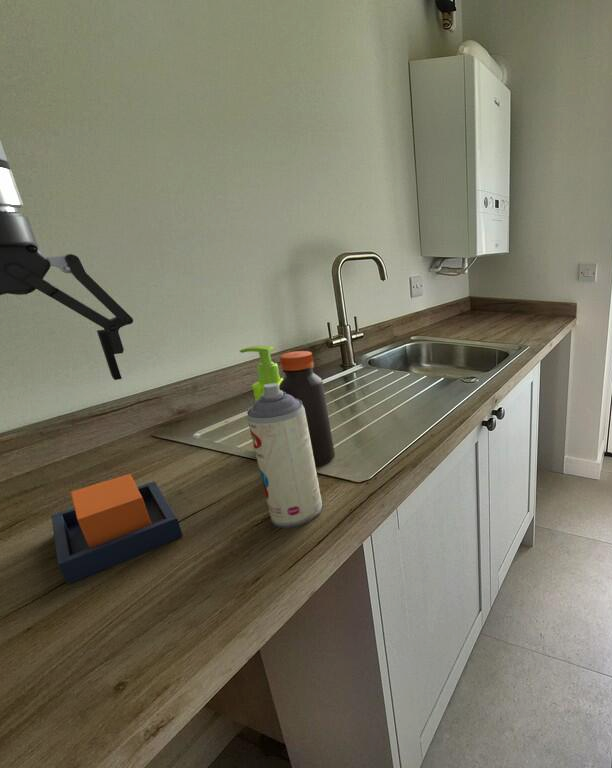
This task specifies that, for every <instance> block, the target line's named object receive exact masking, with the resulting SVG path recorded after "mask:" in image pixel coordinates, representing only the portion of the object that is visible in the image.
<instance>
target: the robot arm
mask: <svg viewBox="0 0 612 768" xmlns="http://www.w3.org/2000/svg"><path fill="white" fill-rule="evenodd" d="M24 206H25V205H24V203H23V199H22V197H21V194H20V191H19V189H18V186H17V182H16V179H15V177H14V174H13V171H12V169H11V167H10V164H9V161H8V158H7V156H6V153H5V150H4V146H3V143H2V141H1V140H0V296H3V295H6V294H7V295H8V294H9V295H15V296H23V295H28V294H31V293H34V291H36V290H38V292H41V293H43V294H45V295H46V296H47V297H50V298H52V299H53V300H55V301H56V302H59V303H60V304H62V305H63V306H65V307H67V308H69V309H70V310H72V311H74V312H75V313H77V314H78V315H81V316H82V317H84V318H85V319H87V320H89V321H91V322H92V323H94V324H96V325H98V326H99V327H101V328H102V329H98V330H96V333H97V337H98V339H99V342H100V345H101V348H102V350H103V354H104V358H105V360H106V363H107V366H108V370H109V373H110V375H111V377H112V379H113V380H114V381H118V380H122V379H123V378H122V374H121V371H120V369H119V365H118V362H117V360H116V356H115V355H118V354H119V355H120V354H123V353H124V351H125V349H124V345H123V342H122V339H121V335H120V333H119V332H120V329H121V328H123V327H125V326H129V325H132V324H133V323H134V318H133V317H132V316H131V315H130V314H129V313H128V312H127V311H126V310H125V309H124V308H123V307H122V306H121V305H120V304H119V303H117V301H116V300H115V299H113V297H112V296H111V295H109V294H108V293H107V291H106V290H104V289H103V288H102V287H101V285H99V284H98V283H97V282H96V281H95V280H94V279H93V278H92V277H91V276H90V275H89V274H88V273H87V272H86V270H85V268H84V266H83V263H82V262H81V260H80V258H79V256H77V255H76V254H73V253H66V254H65V255H58V256H48V257H46V256H45V255H44V254H43V253H42V252H41V250H40V248H39V245H38V242H37V239H36V236H35V234H34V231H33V228H32V224H31V222H30V219H29V217H28V216H26V215H25V214H24V213H21V212H19V211H18V209H21V208H23V207H24ZM51 267H56V268H58V269H59V270H60V271H61V272H62V273H64V274H71V275H72V276H73V277H74V278H75V279H76V280H77V281H78V283H80V284H81V285H82V286H83V287H84V288H85V289H86V290H87V291H88V292H89V293H90V294H91V295H93V296H94V297H95V298H96V300H98V302H100V304H102V305H103V306H104V307H105V308H106V309H107V310H108V311H109V312H110V313H111V314H113V315H114V316H115V317H112V318H108V317H106V316H105V315H102V314H101V313H99V312H98V311H96V310H95V309H93V308H91V307H90V306H89V305H88V306H87V305H86V304H85V303H83V302H81V301H79V299H76V298H75V297H73V296H71V295H69V294H68V293H66V291H63V290H61V289H60V288H58V287H56V286H55V285H54V284H52V283H50V282H48V281H47V280H45V279H44V278H45V277H46V275H47V274H48V272H49V270H50V269H51Z"/></svg>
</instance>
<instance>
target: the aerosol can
mask: <svg viewBox="0 0 612 768" xmlns="http://www.w3.org/2000/svg"><path fill="white" fill-rule="evenodd" d="M263 387H264V393H263V394H262V396H260V397H259V398H260V399H258V400H257V401H256V400H255V401H254V403H253V405H251V406H250V407H249V408H248V409H247V410H246V414H247V417H246V419H247V423H248V427H249V431H250V436H251V441H252V444H253V448H254V449H253V450H254V454H255V457H256V461H257V466H258V470H259V474H260V478H261V482H262V487H263V491H264V495H265V500H266V504H267V508H268V512H269V517H270V520H271V524H272V525H274V526H275V527H279V528H280V529H281V528H283V529H285V528H286V529H290V528H295V527H299V526H302V525H306V524H307V523H309V522H311V521H312V520H313V521H314V520H315V518H317V517H318V516H319V515H320V514H321V513H322V511H323V508H324V507H323V501H322V496H321V490H320V485H319V479H318V474H317V468H316V467H317V466H316V467H315V462H314V457H313V451H312V446H311V440H310V435H309V430H308V424H307V419H306V413H305V409H304V407H303V405H302V401H301V400H299V399H294V397H293V396H291V395H289V394H286V393H285V392H283V391H282V390H280V389H279V386H278V384H277V383H270V384H266V385H264V386H263Z"/></svg>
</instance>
